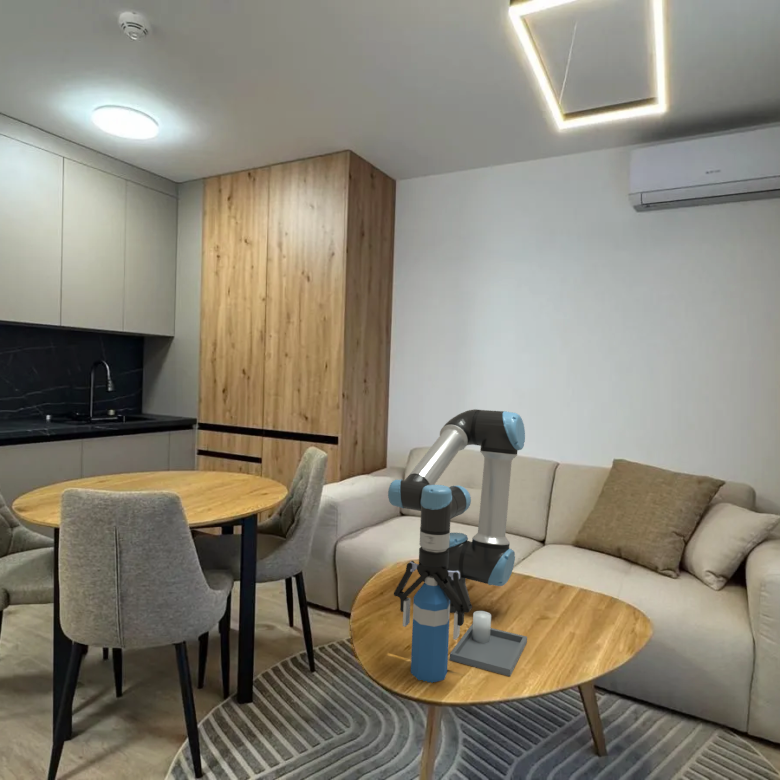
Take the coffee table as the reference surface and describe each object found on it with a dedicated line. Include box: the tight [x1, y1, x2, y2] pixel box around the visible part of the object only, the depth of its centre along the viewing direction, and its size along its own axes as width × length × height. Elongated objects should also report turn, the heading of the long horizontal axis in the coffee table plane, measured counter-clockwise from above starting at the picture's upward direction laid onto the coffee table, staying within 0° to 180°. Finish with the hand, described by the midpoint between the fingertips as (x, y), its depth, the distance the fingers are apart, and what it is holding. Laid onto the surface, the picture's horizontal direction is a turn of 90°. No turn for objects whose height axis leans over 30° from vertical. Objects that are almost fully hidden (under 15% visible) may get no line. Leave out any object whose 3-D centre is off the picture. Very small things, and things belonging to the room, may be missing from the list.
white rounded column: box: [472, 610, 492, 643], centre depth 158 cm, size 5×5×7 cm
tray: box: [449, 623, 528, 677], centre depth 152 cm, size 16×20×2 cm
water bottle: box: [410, 576, 451, 684], centre depth 141 cm, size 9×9×25 cm
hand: (430, 630), depth 141 cm, fingers open, 13 cm apart
